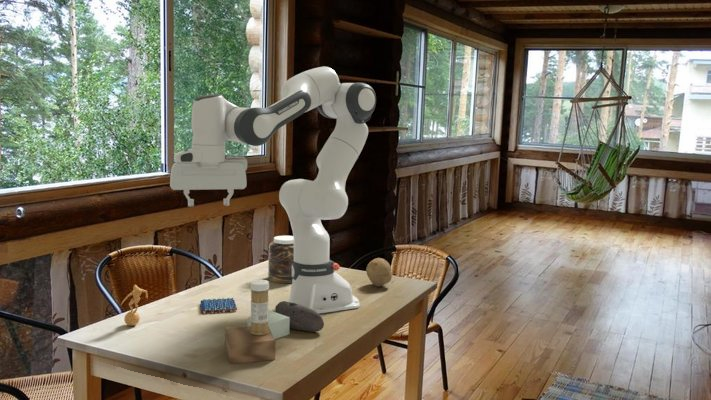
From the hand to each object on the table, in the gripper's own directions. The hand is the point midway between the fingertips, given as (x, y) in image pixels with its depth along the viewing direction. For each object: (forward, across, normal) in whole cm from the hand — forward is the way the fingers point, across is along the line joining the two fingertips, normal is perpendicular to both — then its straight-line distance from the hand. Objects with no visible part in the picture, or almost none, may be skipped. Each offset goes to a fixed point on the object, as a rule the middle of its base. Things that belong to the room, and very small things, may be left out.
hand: (208, 205), depth 172 cm
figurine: (+34, +20, -4) cm, 40 cm away
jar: (+34, -30, -42) cm, 62 cm away
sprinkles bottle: (+29, -11, +22) cm, 38 cm away
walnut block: (+34, -8, +22) cm, 41 cm away
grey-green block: (+34, -15, +10) cm, 39 cm away
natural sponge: (+34, -60, -27) cm, 74 cm away
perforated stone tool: (+34, -24, +8) cm, 43 cm away
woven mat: (+35, -4, -15) cm, 38 cm away
